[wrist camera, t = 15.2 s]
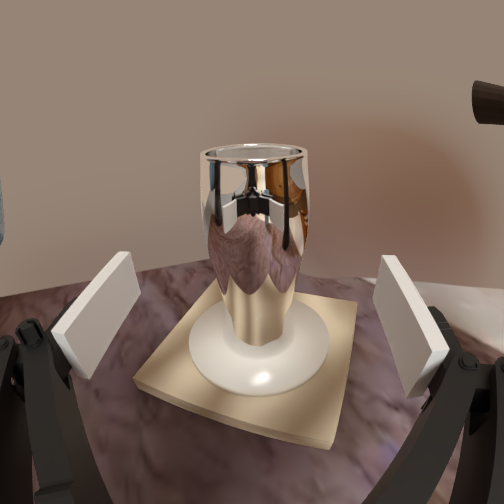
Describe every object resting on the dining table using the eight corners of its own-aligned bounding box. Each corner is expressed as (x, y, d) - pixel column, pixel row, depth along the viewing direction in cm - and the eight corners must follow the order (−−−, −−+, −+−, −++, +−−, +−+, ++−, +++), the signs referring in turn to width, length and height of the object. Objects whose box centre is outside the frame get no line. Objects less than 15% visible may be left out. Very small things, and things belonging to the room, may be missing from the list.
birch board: (137, 388, 21) (132, 377, 21) (217, 288, 34) (216, 277, 34) (329, 450, 16) (333, 442, 15) (355, 313, 29) (357, 302, 29)
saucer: (164, 369, 22) (162, 363, 21) (225, 290, 31) (224, 284, 31) (311, 413, 18) (313, 408, 17) (336, 311, 28) (337, 304, 27)
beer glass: (218, 311, 27) (201, 146, 20) (291, 306, 27) (297, 142, 20) (216, 368, 21) (188, 163, 14) (307, 360, 21) (326, 158, 14)
